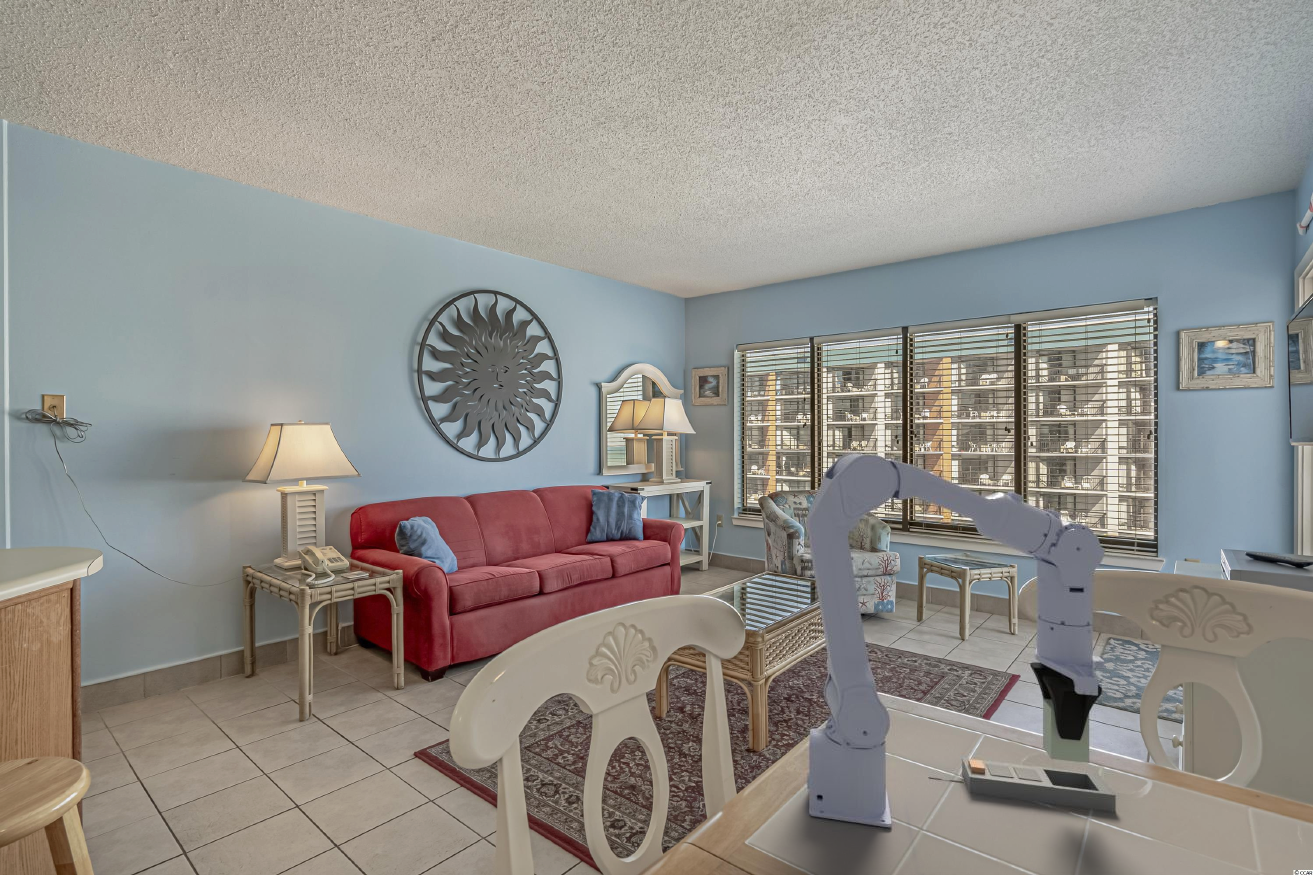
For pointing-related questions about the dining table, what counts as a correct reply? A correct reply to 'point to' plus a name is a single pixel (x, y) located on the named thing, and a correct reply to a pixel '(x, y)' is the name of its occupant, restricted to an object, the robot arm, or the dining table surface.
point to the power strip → (1037, 784)
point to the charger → (1063, 747)
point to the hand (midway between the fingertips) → (1064, 731)
